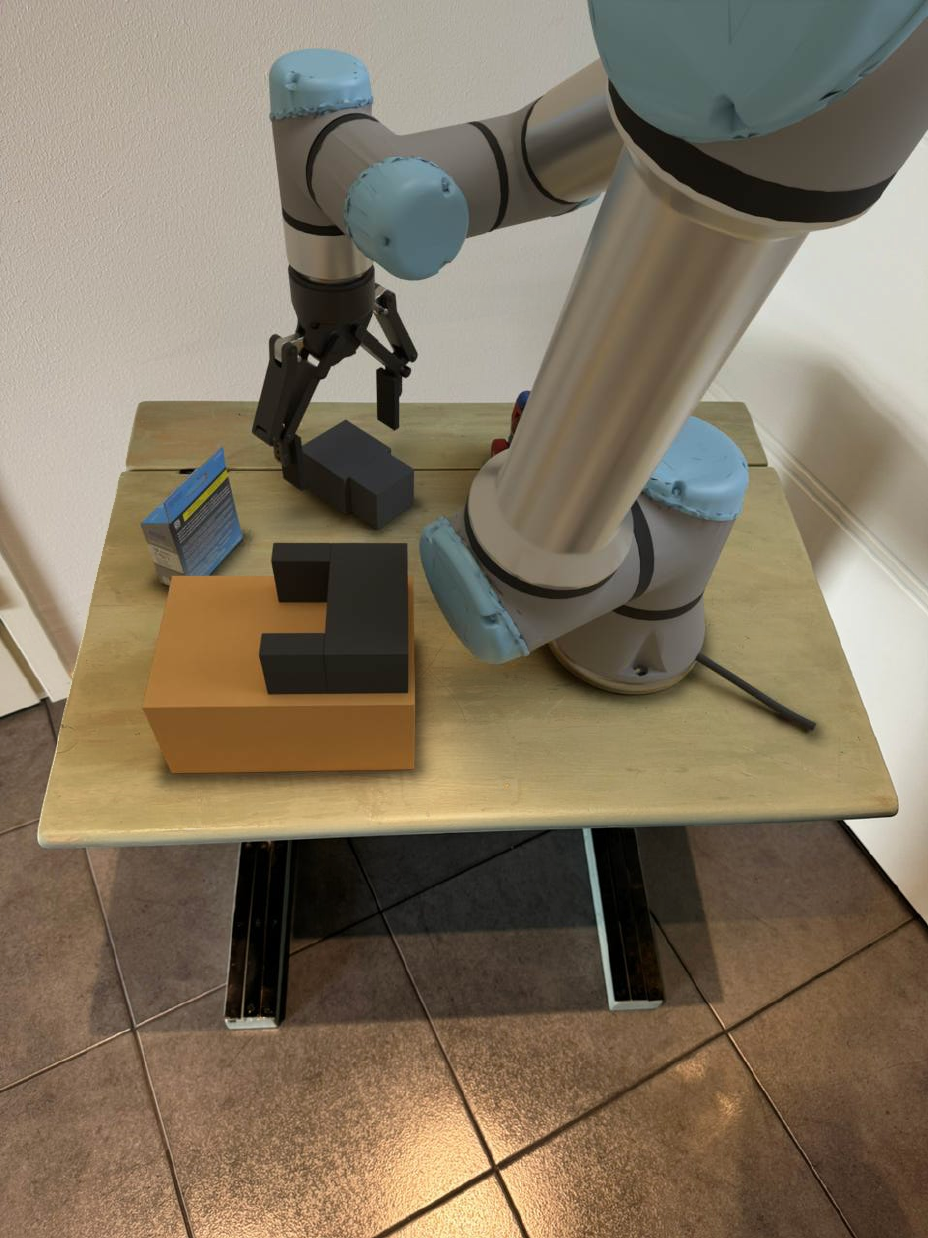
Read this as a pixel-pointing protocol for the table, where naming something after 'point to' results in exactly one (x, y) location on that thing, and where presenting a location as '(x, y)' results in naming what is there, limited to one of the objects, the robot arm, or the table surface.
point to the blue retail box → (194, 523)
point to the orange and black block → (289, 665)
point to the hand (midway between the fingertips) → (343, 452)
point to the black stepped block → (358, 474)
